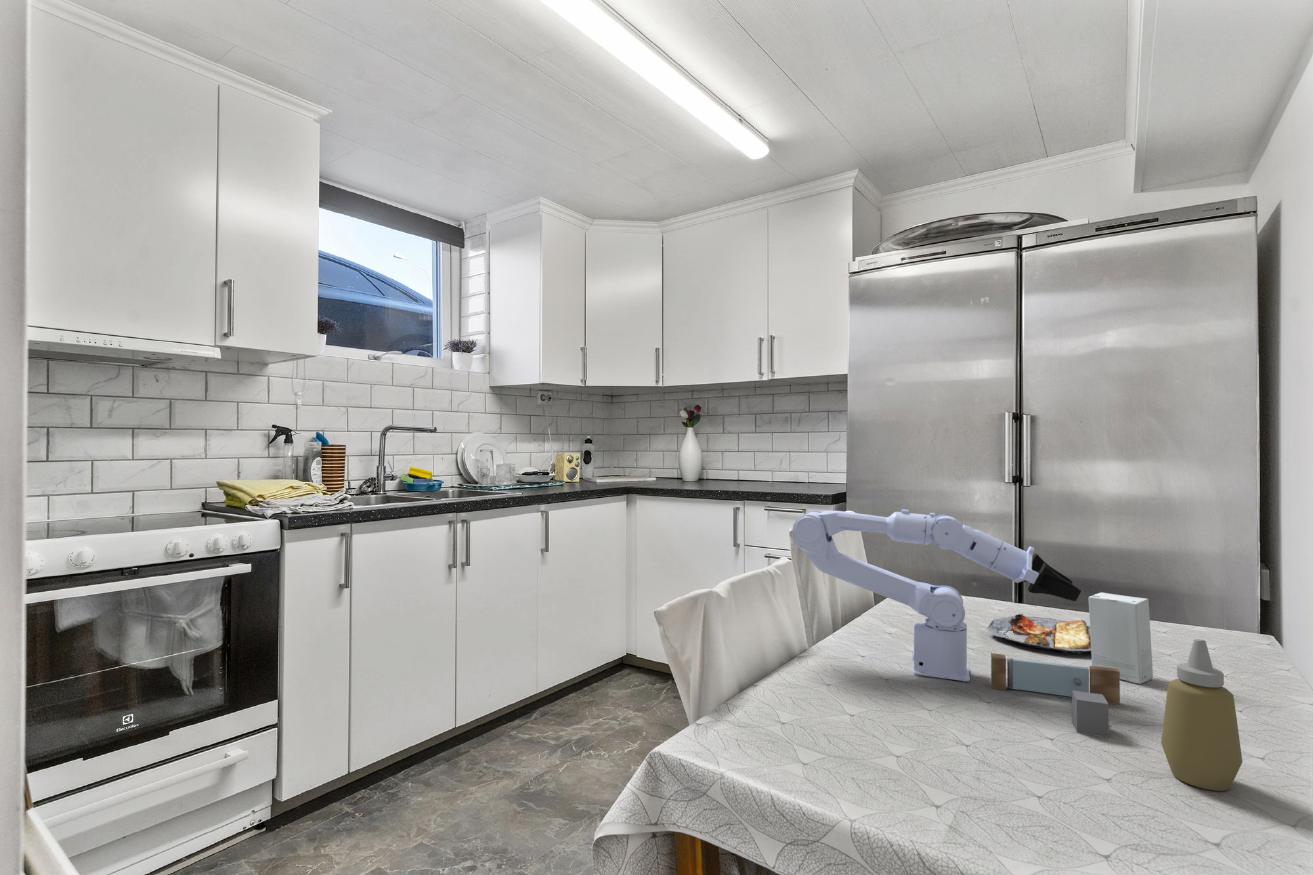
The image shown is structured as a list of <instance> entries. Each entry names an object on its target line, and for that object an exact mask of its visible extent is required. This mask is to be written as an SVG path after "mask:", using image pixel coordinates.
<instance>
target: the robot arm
mask: <svg viewBox="0 0 1313 875" xmlns="http://www.w3.org/2000/svg"><path fill="white" fill-rule="evenodd" d="M844 531H852V532H853V531H854V532H866V533H874V534H875V533H878V534H887V536H888V537H889V538H890V539H891V540H892V541H893V542H898V543H900V542H901V543H907V544H908V543H910V544H918V545H925V546H928V545H930V544H933V543H934V544H935V545H936V546H938V547H939V549H941V550H944V551H954V552H955V553H958V554H960V555H961V556H963V557H964V558H966V559H968V560H970V561H972V562H974V563H976V564H978V565H981V566H982V567H985V568H987V569H989V570H990V571H993V572H996V573H997V574H999V575H1002V576H1004V577H1006V578H1008V579H1010V580H1012V582H1014V583H1017V584H1018V583H1022V582H1024V583H1030V584H1029V586H1028V587H1027V591H1028V592H1029V593H1031V594H1042V595H1043V594H1044V595H1049V596H1054V597H1057V598H1061V599H1064V600H1068V601H1073V602H1077V600H1078V598H1079V596H1080V595H1081V592H1082V590H1081V589H1080V588H1078V587H1077V586H1076V585H1074V584H1073V581H1072V579H1070V578H1069V577H1067V576H1066V575H1064V574H1062V573H1061V572H1060V571H1058V570H1056V569H1055V568H1054V567H1052V566H1050V564H1048V563H1047V562H1045V561H1044V559H1042V558H1041V556H1039V554H1038V553H1034V552H1035V547H1034V546H1029V547H1028V548H1027V550H1026V551H1025V550H1023V549H1021V548H1019V547H1016V546H1015V545H1012V544H1010V543H1008V542H1005V541H1003V540H1001V539H999V538H997V537H995V536H993V535H990V534H988V533H986V532H984V531H982V530H980V529H975V528H973V527H972V526H969V525H965V524H961V523H960V522H959V520H958V519H956V518H955V517H953V516H950V515H946V514H944V513H943V514H939V515H937V516H936V513H935V512H930V513H929V514H923V513H915V512H914V513H912V512H911V513H910V512H909V509H904V508H902V509H901V511H894V512H893V513H892V514H891V515H890V516H887V517H886V516H880V515H879V516H878V515H872V514H865V513H864V514H863V513H859V512H850V511H844V510H843V511H842V510H823V511H820V510H811V511H807V512H806V513H805V514H802V515H800V516H798V517H797V518H796V520H795V521H794V522H793V525H792V533H793V537H794V540H795V543H796V546H797V548H799V549H800V550H801V551H803V553H804V554H805V556H807V558H808V559H809V560H810V561H811V562H812V563H813V565H815V568H817V569H818V570H819V571H820V572H822V573H824V574H827V575H829V576H832V577H834V578H836V579H839V580H842V581H845V582H848V583H850V584H852V585H855V586H856V587H860V588H862V589H864V590H867V591H870V592H873V593H875V594H877V595H880V596H882V597H885V598H888V599H890V600H891V601H895V602H898V603H900V604H903V605H905V606H907V607H909V608H911V609H912V610H914V611H915V612H916V613H917V614H919V615H921V616H924V617H926V618H925V620H924V622H914V627H913V628H914V629H913V651H912V662H913V674H914V675H916V676H924V677H931V678H932V677H933V678H940V679H945V680H946V679H947V680H954V681H955V680H956V681H962V682H971V677H970V670H969V669H970V668H969V666H968V663H967V662H968V658H967V657H968V642H967V641H968V633H967V632H968V626H967V624H966V623H965V622H964V620H965V618H966V609H965V606H964V599H963V596H962V594H961V593H960V592H959V591H958V590H957V589H956V588H954V587H952V586H950V585H934V584H930V583H927V582H920V581H916V580H913V579H911V578H909V577H906V576H903V575H900V574H897V573H894V572H892V571H890V570H886V569H884V568H881V567H878V566H876V565H873V564H870V563H869V562H866V561H863V560H861V559H857V558H854V557H853V556H849V555H847V554H844V553H841V552H839V551H838V548H837V545H836V544H835V541H834V539H833V536H834V535H836V534H838V533H841V532H844ZM1033 553H1034V554H1033Z"/></svg>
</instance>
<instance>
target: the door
mask: <svg viewBox="0 0 1313 875" xmlns="http://www.w3.org/2000/svg"><path fill="white" fill-rule="evenodd" d="M1006 688H1008V689H1013V690H1021V691H1028V692H1033V693H1042V694H1050V695H1057V696H1065V697H1070V698H1072V691H1080V692H1087V693H1090V668H1089V667H1087V666H1086V667H1085V666H1076V665H1068V664H1059V663H1052V662H1043V661H1035V660H1027V659H1019V658H1010V657H1008V658H1007V657H1006Z"/></svg>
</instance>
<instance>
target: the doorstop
mask: <svg viewBox="0 0 1313 875" xmlns="http://www.w3.org/2000/svg"><path fill="white" fill-rule="evenodd" d="M1109 704H1110V703H1108V702H1107V701H1106V699H1105V698H1104V696H1103V695H1102V694H1095V693H1090V692H1089V693H1087V692H1080V691H1072V697H1071V719H1072V720H1071V723H1072V726H1073V727H1074V729H1075V731H1076V733H1077V734H1082V735H1090V736H1096V737H1101V738H1102V737H1104V738H1110V737H1109V736H1110V735H1109V732H1110V729H1109V728H1110V727H1109V726H1110V725H1109V724H1110V723H1109V722H1110V721H1109V720H1110V719H1109V716H1110V714H1109V710H1110V709H1109V707H1110V705H1109Z"/></svg>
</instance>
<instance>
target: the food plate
mask: <svg viewBox="0 0 1313 875" xmlns="http://www.w3.org/2000/svg"><path fill="white" fill-rule="evenodd" d="M990 622H991V623H989V626H988V627H987V629H986V630H987V631H988V632H989V633H990V634H991V635H993V636H995V637H999V638H1004V639H1006V640H1008V641H1013V642H1015V643H1017V644H1021V645H1024V646H1028V647H1032V648H1037V649H1043V650H1049V651H1054V650H1055V652H1057V651H1058V652H1063V653H1072V654H1078V655H1079V654H1082V653H1083V652H1084V653H1085V652H1087V653H1088V652H1091V636H1090V625H1089V626H1088V625H1087V622H1086V621H1085V620H1071V621H1066V620H1060V619H1056V618H1050V617H1041V616H1025V615H1024V614H1023V613H1018V614H1016V615H1014V616H1013V615H1012V616H1011V615H1010V616H1005V617H999V618H994V619H993V620H992V621H990ZM1000 631H1005V632H1003V633H1002V632H1000ZM1008 631H1013V633H1014V635H1017V636H1016V637H1015V639H1014V638H1013V637H1008V635H1007V634H1005V633H1007V632H1008ZM1006 635H1007V636H1006ZM1014 635H1013V636H1014ZM1018 637H1019V638H1018ZM1018 639H1019V640H1018ZM1050 644H1051V645H1052V646H1049V645H1050ZM1047 645H1048V646H1047Z"/></svg>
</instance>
